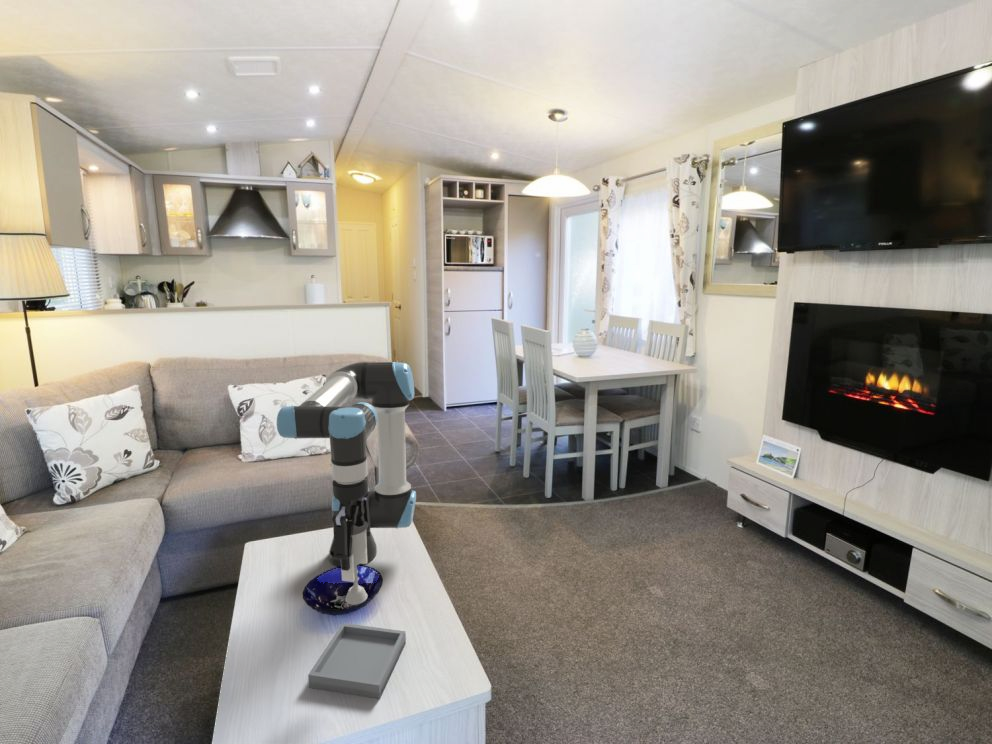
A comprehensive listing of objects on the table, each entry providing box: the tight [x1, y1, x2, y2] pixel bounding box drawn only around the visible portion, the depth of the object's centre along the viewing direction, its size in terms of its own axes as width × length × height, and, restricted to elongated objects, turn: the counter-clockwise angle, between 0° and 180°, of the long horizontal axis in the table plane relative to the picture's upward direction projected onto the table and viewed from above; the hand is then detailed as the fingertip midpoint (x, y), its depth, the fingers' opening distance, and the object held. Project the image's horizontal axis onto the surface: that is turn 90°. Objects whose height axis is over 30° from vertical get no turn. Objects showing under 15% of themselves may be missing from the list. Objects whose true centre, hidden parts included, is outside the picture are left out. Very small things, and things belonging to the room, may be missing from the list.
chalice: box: [344, 520, 368, 606], centre depth 115 cm, size 7×7×18 cm
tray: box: [307, 622, 407, 700], centre depth 121 cm, size 17×17×4 cm
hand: (355, 571), depth 116 cm, fingers closed on chalice, 6 cm apart
